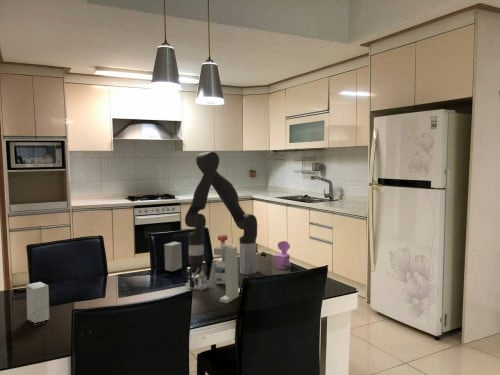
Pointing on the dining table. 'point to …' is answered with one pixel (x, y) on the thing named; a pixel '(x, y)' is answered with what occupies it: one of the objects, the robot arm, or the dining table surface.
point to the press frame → (229, 272)
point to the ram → (222, 261)
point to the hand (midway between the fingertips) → (197, 285)
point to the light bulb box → (219, 275)
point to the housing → (199, 282)
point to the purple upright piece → (282, 255)
